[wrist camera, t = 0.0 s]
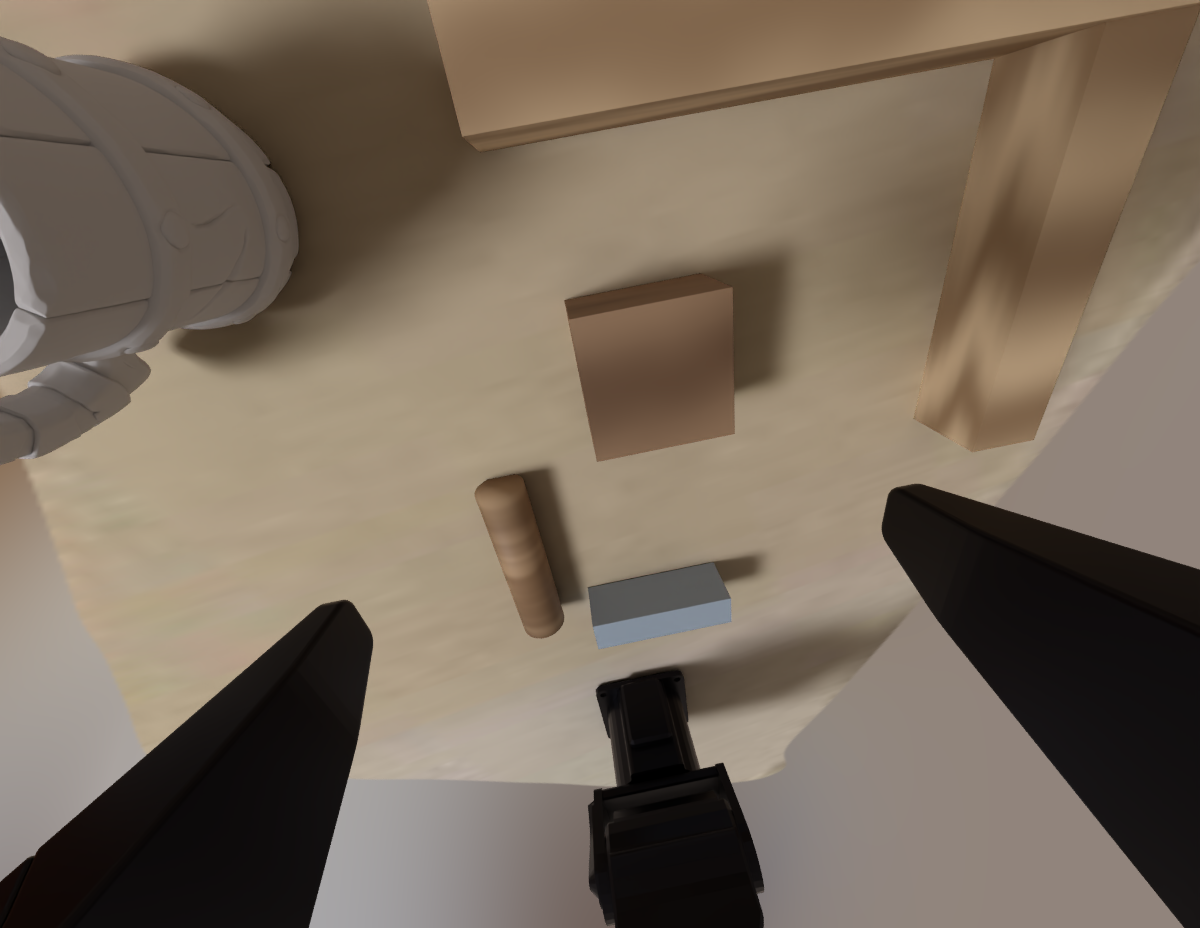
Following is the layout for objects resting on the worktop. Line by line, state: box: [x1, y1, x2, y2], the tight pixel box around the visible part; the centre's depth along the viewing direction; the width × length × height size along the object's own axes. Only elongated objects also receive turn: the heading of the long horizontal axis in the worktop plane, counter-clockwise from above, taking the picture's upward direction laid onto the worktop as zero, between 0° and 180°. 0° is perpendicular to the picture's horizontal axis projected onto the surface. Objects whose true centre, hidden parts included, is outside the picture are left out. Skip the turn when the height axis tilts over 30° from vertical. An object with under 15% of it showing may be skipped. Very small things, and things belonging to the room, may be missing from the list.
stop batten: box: [588, 562, 731, 649], centre depth 27 cm, size 2×8×3 cm, turn 99°
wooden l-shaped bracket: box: [427, 0, 1200, 452], centre depth 18 cm, size 18×22×4 cm
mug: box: [0, 37, 299, 465], centre depth 12 cm, size 8×12×12 cm, turn 147°
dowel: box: [475, 474, 564, 638], centre depth 25 cm, size 10×2×2 cm, turn 9°
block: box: [564, 273, 735, 462], centre depth 19 cm, size 6×6×4 cm
